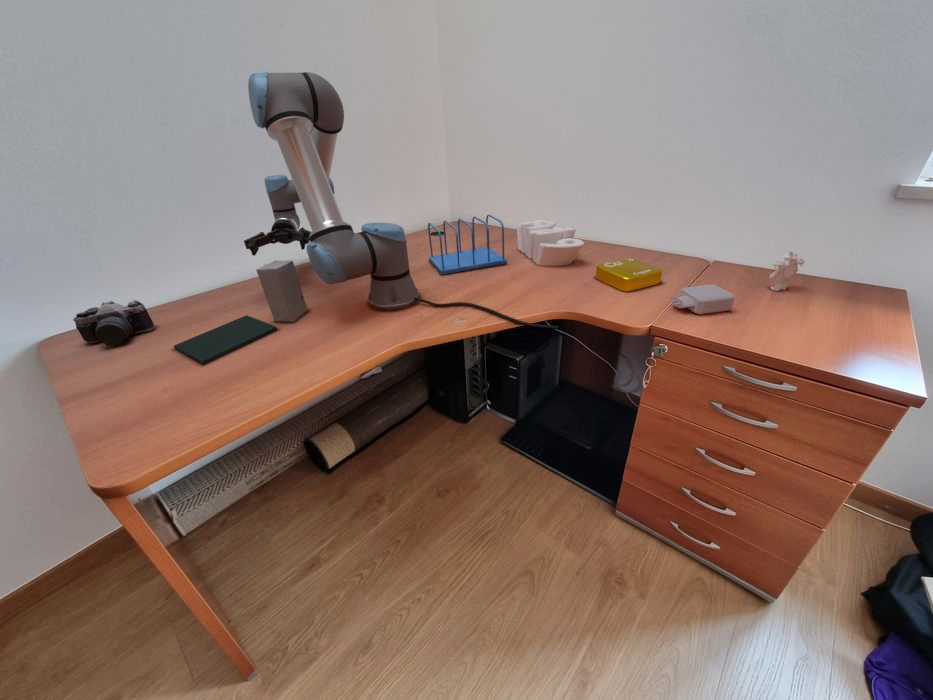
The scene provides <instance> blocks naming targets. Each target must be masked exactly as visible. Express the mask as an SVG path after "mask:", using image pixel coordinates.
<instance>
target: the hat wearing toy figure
mask: <svg viewBox="0 0 933 700" xmlns="http://www.w3.org/2000/svg"><path fill="white" fill-rule="evenodd" d="M781 257H782V258H780V259H778V260H776V261H774V262H773V269H775V271H773V272H772V273H771V274H770V275H769V276H768V278H769V280H772V279H773V278H775V277H776V276H777V275H778V276H777V277H776V279H775V281H774V285H771V286H770V287H769V289H770V290H771V291H776V292H781V291H782V290H783V291H786V289H787V287H788V285H787V282H788V280H789V278H790V277H794V276H796V275H797V272H799V266H800V267H803V266H804V265H805V263H806V259H804V257H803V256H799V253H798V252H795V251H794V252H793V250H790V251H789V252H786V253H785V255H781ZM783 258H784V259H783ZM798 265H799V266H798Z"/></svg>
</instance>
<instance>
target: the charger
mask: <svg viewBox="0 0 933 700" xmlns="http://www.w3.org/2000/svg"><path fill="white" fill-rule="evenodd" d="M734 301H735V295H734V294H733V293H731V292H730V291H728V290H726V289H724V288H722V287H720V286H718V285H716V284H714V283H711V284H704V285H696V286H689V287H682V288H681V290H680V293H679V296H672V297H670V300H668V301H667V302H668V303H671V305H672V306H675V307H677V308H678V309H685V308H686V309H688V310H689V311H691V312H693V313H695V314H697V315H705V314H712V313H720V312H727V311H731V310H732V308H733V305H734Z"/></svg>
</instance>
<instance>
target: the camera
mask: <svg viewBox="0 0 933 700" xmlns="http://www.w3.org/2000/svg"><path fill="white" fill-rule="evenodd" d="M72 321H73V322H74V324H75V328H76V329H77V331H78V333H79V334H80V336H81V338H82V340H83V341H84V342H85V343H88V344H94V343H100V342H102V343H103V344H105V345H108V346H115V345H120V344H122V343H123V342H125V340H127V339H128V337H130V336H133V335H137V334H141V333H147V332H150V331H152V330H154V329H155V323H154V322H153V319H152V318H151V316H150V314H149V311H148V310H147V308H146V307H145V305H144V303H143V302H141V301H139V300H137V299H132V300H130V301H129V302H128V304H127V305H123V304H120V303H118V302H114V301H113V300H110V301H107V302H104V301H102V302H101V304H100V307H97V306H94V307H90V308H88V309H86V310H84V311H82V312H78V313H76V314H75V316H74V318H73V319H72Z"/></svg>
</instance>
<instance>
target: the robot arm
mask: <svg viewBox="0 0 933 700" xmlns="http://www.w3.org/2000/svg"><path fill="white" fill-rule="evenodd" d="M247 81H248V82H247V83H248V84H247V88H248V97H249V104H250V109H251V113H252V114H251V115H252V117H253V120H254V124H255V125H256V126H257V127H258V128H260V129H264V128H265V130H266V133H267V136H268V137H269V138H270V139H272V140H274V141H275V142H277V144H278V147H279V149H280V152H281V155H282V157H283V160H284V162H285V165H286V167H287V170H288V172H289V175H290V178H291V179H289V178H288V177H287V175H286V174H273V175H268V176H266V177H265V178H264V186H265V189H266V194H267V196H268V200H269V203H270V207H271V209H272V214H273V218H274V222H273V224H272V226H271V229H270V231H269V232H266V233H265V232H263V231H260V232H259V233H257V234H255V235H253V236H251V237H249V238H247V239H245V240H243V243H244V247H245V249H246V250H249V251H250V253H251V255H252V256H253V257H254V256H256V255H257V254H258V251H259V250H260V248H261V247H264V246H266V245H269V244H273V245H274V244H277V243H280V244H282V245H288V244H289V245H290V244H291V243H293V242H299V245H300V248H301V250H305V249H306V253H307V257H308V260H309V262H310V265H311V266H312V268H313V270H314V272H315V273H316V275H317V276H318V277H319V279H321V281H322V282H324V283H325V284H328V285H335V284H339V283H342V284H343V283H346V282H347V281H352V280H354V279H358V278H362V277H365V276H370V285H369V286H370V287H369V293H368V296H367V298H368V299H367V300H368V303H369V306H370V307H371V308H372V309H375V310H379V311H387V312H388V311H397V310H399V311H400V310H403V309H407V308H409V307H412V306H413V305H415V304H417V303H418V302H419V303H420V302H421V303H423V304H426V305H428V306H432V307H439V308H443V307H444V308H445V307H453V306H466V307H472V308H476V309H478V310H482V311H485V312H489V313H491V314H493V315H496V316H498V317H500V318H502V319H505V320H508V321H510V322H513V323H515V324H519V325H522V326H525V327H531V328H535V329H548V330H559V326H558V325H549V324H538V323H531V322H527V321H522V320H519V319H516V318H514V317H511V316H508V315H507V314H503V313H500V312H499V311H496V310H494V309H491V308H489V307H486V306H482V305H479V304H476V303H472V302H461V301H455V302H448V303H437V302H433V301H429V300H426V299H423V298H420V295H419V294H420V293H419V290H418V288H417V287H416V284H415V282H414V279H413V277H412V275H411V270H410V263H409V253H408V247H407V237H406V234H405V229H404V228H403V227H402V226H401V225H400V224H396V223H391V222H367V223H364V224H362V225H361V229H360V230H361V231H359V232H354V229H353V227H352V225H351V224H350V223H348V222H347V221H344V218H343V216H342V213H341V211H340V208H339V206H338V202H337V200H336V198H335V186H334V182H333V179H332V178H331V177H330V176H331V170H332V165H333V160H334V154H335V149H336V143H337V138H338V134H339V133H340V132H341V131H342V130H343V126H344V122H345V110H344V106H343V102H342V99H341V97H340V94H339V93H338V91H337V90H336V88H335V87H334V86H333V85H332V83H330V81H328V80H327V79H326V78H324V77H323V76H321V75H319V74H317V73H315V72H309V71H305V72H304V71H303V72H269V71H264V72H253V73H251V74H250V75H249V77H248V80H247ZM298 203H299V204H300V203H301V206H302V208H303V211H304V213H305V216H306V218H307V221H308V224H309V226H310V228H311V229H310V230H311V231H310V230H308V229H306V228H305V227H301V226H300V225H301V221H300V217H299V215H298V213H297V210H296V206H295V204H298Z"/></svg>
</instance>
